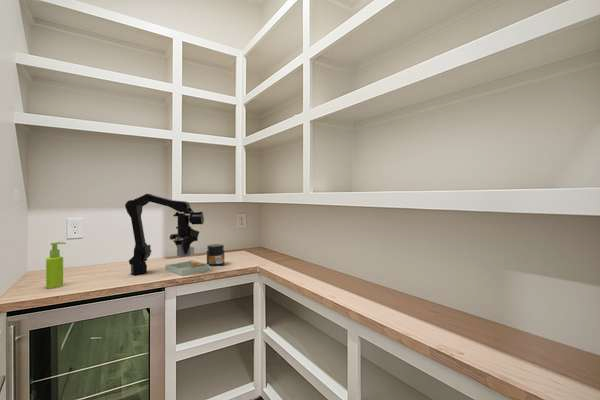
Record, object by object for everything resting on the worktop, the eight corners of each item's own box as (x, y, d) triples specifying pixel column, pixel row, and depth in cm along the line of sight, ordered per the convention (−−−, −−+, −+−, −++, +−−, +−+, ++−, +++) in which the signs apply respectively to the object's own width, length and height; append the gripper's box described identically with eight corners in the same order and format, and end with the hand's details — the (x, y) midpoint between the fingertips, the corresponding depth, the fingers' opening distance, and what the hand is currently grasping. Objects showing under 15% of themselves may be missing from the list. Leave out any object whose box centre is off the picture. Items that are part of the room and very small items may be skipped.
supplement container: (220, 267, 164) (220, 246, 164) (203, 267, 165) (203, 246, 165) (227, 263, 175) (227, 244, 175) (211, 263, 176) (211, 243, 176)
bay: (182, 277, 143) (182, 270, 143) (165, 271, 155) (164, 265, 155) (209, 271, 155) (209, 264, 155) (191, 266, 167) (191, 260, 167)
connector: (181, 257, 148) (181, 245, 148) (177, 256, 151) (176, 244, 151) (195, 254, 154) (195, 243, 154) (190, 253, 157) (190, 243, 157)
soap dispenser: (66, 285, 129) (66, 242, 129) (46, 289, 124) (46, 244, 125) (65, 283, 133) (65, 241, 134) (45, 286, 129) (45, 242, 129)
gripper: (206, 224, 152) (206, 253, 152) (188, 222, 163) (188, 249, 163) (187, 225, 143) (187, 256, 143) (169, 224, 155) (169, 252, 155)
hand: (183, 253), depth 151 cm, fingers closed on connector, 4 cm apart
